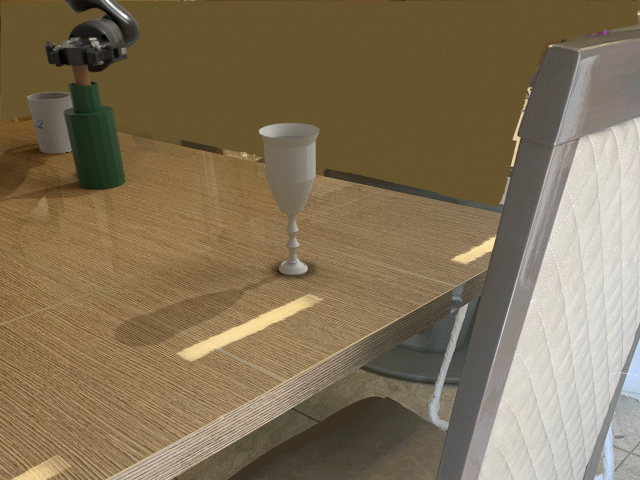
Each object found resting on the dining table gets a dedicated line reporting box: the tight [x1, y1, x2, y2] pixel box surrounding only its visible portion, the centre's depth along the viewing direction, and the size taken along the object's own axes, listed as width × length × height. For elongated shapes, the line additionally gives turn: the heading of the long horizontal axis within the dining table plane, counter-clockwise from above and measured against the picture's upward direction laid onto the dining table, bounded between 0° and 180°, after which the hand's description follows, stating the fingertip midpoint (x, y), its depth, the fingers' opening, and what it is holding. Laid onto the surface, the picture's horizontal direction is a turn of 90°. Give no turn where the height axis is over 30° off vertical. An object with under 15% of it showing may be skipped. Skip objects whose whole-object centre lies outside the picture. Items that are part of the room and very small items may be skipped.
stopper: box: [59, 44, 92, 86], centre depth 106 cm, size 5×5×8 cm
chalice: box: [258, 122, 321, 276], centre depth 77 cm, size 7×7×18 cm
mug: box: [26, 91, 73, 155], centre depth 134 cm, size 12×9×10 cm
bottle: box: [63, 81, 126, 190], centre depth 111 cm, size 8×8×16 cm
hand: (73, 58), depth 102 cm, fingers closed on stopper, 4 cm apart
